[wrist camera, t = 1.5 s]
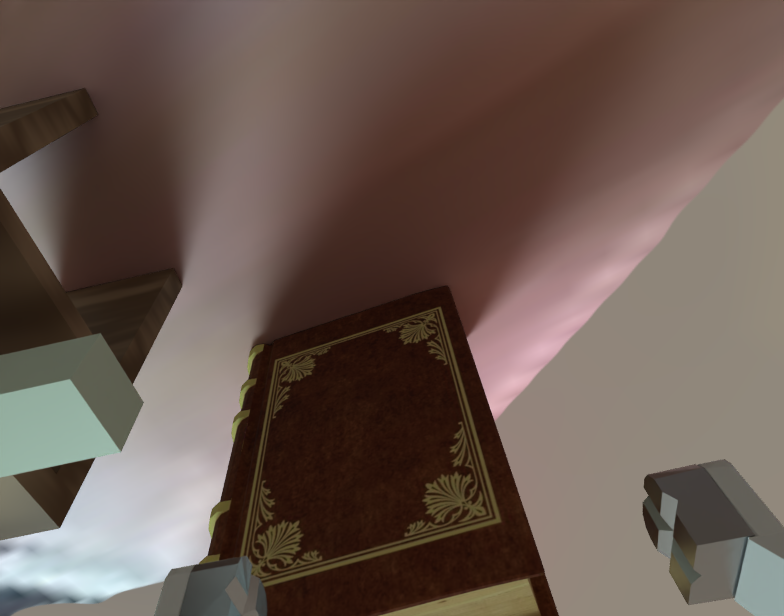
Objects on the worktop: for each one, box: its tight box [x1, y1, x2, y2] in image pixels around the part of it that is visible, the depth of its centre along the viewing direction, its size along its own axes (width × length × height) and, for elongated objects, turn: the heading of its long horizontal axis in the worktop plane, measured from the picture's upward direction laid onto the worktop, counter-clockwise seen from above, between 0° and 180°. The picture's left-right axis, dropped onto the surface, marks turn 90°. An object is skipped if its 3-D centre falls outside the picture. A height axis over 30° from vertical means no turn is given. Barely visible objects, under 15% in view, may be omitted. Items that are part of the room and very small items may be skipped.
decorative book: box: [199, 286, 559, 616], centre depth 43 cm, size 22×8×30 cm, turn 109°
